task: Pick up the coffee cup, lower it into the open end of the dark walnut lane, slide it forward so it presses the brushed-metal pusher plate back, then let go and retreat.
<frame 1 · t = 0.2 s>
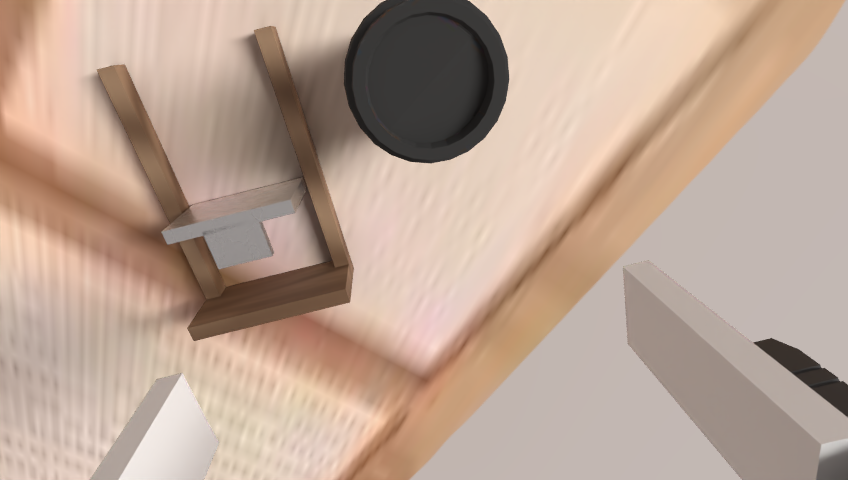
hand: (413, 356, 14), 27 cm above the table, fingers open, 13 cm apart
lane: (243, 178, 38), on the table
pusher: (246, 224, 36), point 3 cm above the table, slide at 0.0 cm
coffee cup: (410, 68, 36), on the table
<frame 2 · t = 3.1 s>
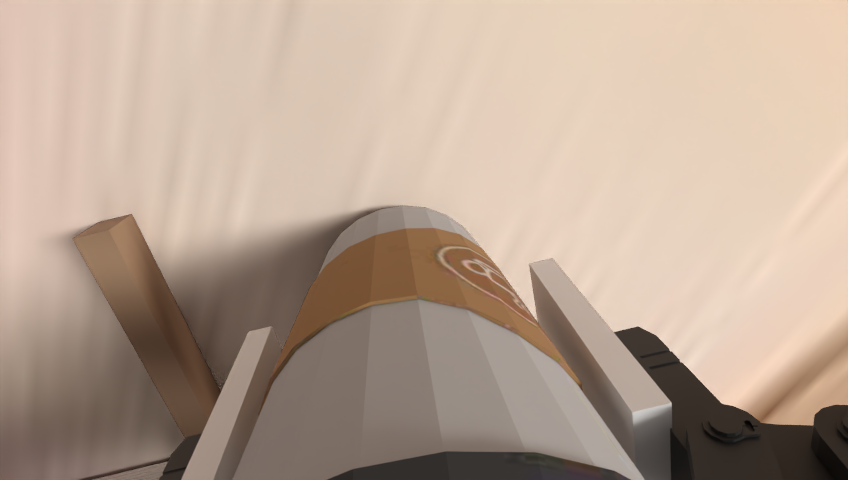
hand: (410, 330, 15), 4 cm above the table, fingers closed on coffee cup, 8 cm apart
lane: (98, 456, 21), on the table
coffee cup: (404, 274, 19), on the table, touching gripper
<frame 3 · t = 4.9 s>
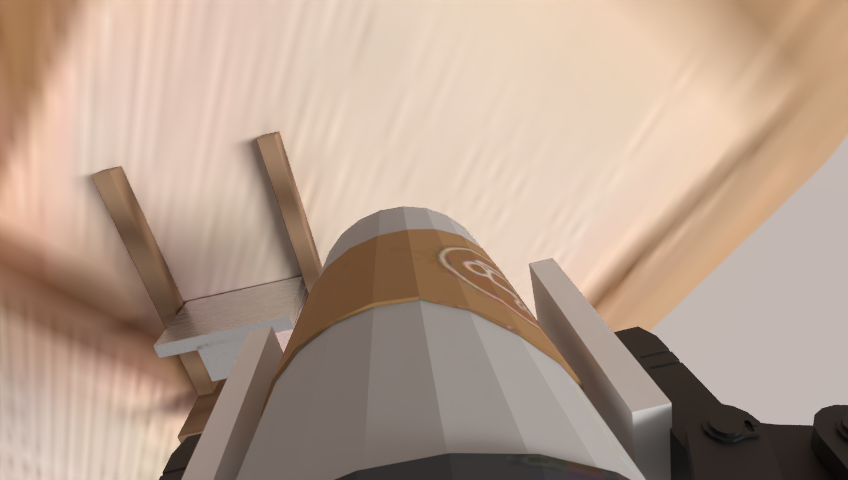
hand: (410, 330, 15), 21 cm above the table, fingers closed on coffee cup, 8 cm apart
lane: (241, 276, 37), on the table
pusher: (243, 329, 35), point 3 cm above the table, slide at 0.0 cm
coffee cup: (405, 275, 19), point 17 cm above the table, touching gripper
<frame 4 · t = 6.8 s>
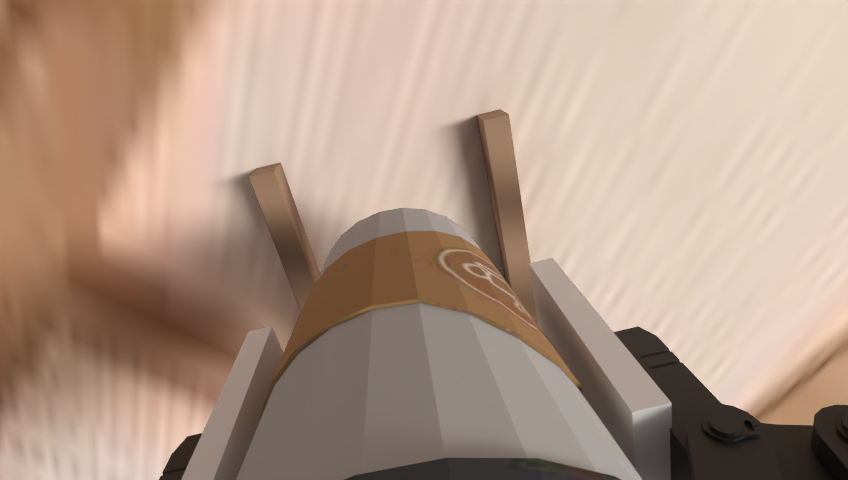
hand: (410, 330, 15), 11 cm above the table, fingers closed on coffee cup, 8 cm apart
lane: (422, 307, 27), on the table
coffee cup: (404, 276, 19), point 7 cm above the table, touching gripper
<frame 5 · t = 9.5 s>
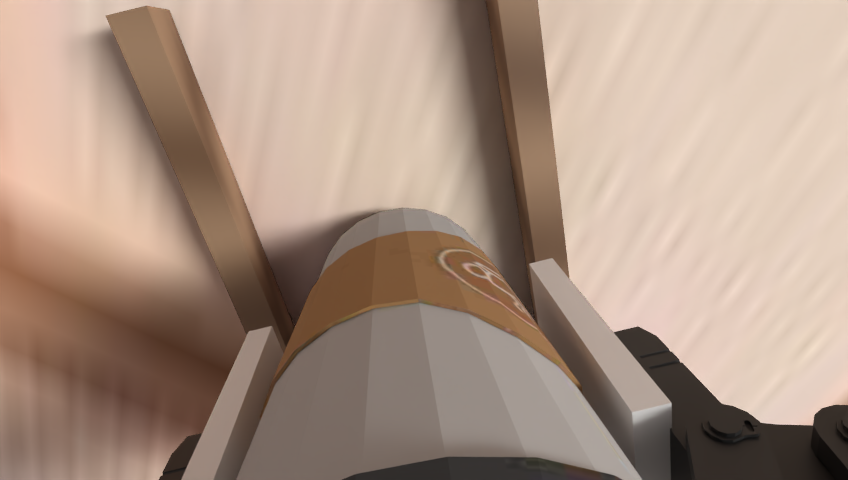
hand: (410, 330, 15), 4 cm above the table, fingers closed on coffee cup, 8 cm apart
lane: (397, 252, 19), on the table
coffee cup: (404, 276, 19), resting in lane, touching gripper
when the fingers open (4 cm above the table, at t = 10.4 s): coffee cup stays where it is, resting in lane.
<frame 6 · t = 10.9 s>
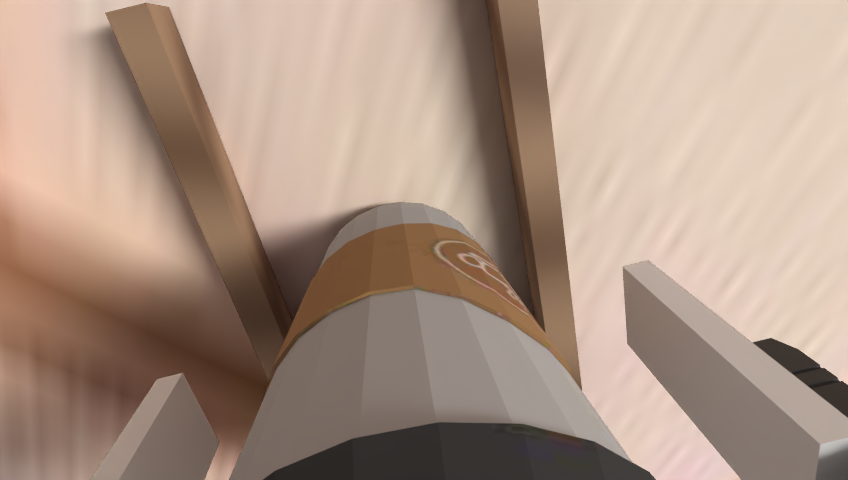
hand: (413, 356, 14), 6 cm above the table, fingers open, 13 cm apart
lane: (397, 250, 19), on the table
coffee cup: (402, 270, 19), resting in lane
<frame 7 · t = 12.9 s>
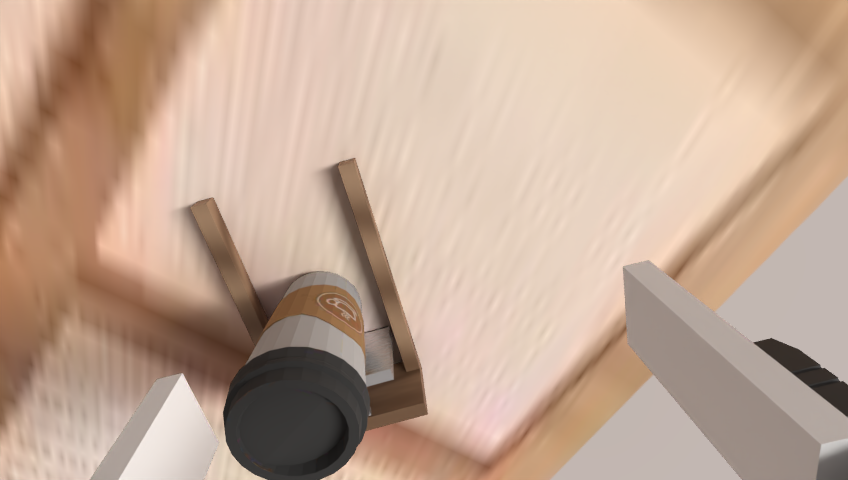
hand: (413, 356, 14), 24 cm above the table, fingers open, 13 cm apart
lane: (320, 292, 40), on the table
pusher: (342, 379, 39), point 3 cm above the table, slide at 3.8 cm
coffee cup: (323, 301, 40), resting in lane
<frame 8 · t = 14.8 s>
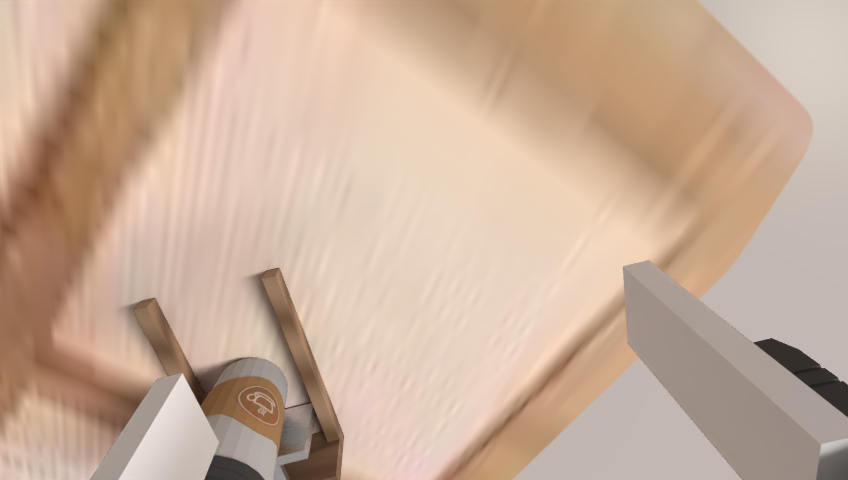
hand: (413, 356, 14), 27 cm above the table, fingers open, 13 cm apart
lane: (251, 374, 45), on the table
pusher: (268, 450, 45), point 3 cm above the table, slide at 3.8 cm
coffee cup: (255, 381, 46), resting in lane
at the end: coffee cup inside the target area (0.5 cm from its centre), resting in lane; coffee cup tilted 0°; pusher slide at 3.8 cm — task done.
